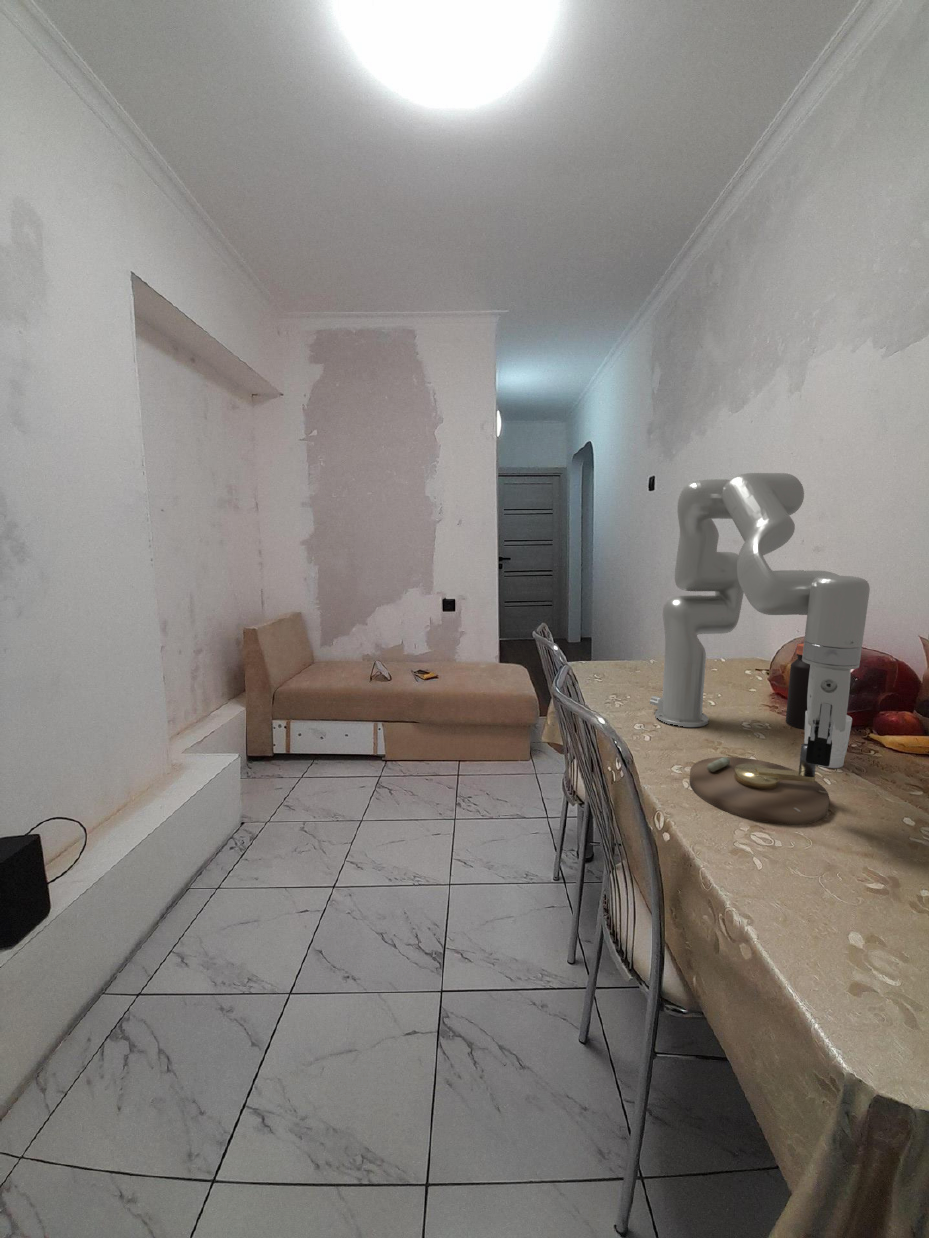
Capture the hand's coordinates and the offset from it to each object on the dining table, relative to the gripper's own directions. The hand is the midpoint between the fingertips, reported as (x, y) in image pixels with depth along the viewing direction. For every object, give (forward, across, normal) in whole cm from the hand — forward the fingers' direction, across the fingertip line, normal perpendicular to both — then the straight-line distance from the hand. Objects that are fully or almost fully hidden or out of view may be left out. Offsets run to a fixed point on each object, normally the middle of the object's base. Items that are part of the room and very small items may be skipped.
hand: (817, 762), depth 87 cm
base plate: (+9, +4, +8) cm, 13 cm away
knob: (+7, +5, +6) cm, 10 cm away
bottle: (+11, +49, +2) cm, 50 cm away
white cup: (+10, +26, -2) cm, 28 cm away
